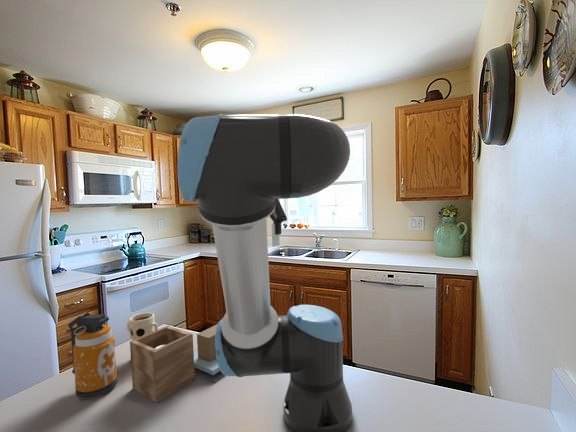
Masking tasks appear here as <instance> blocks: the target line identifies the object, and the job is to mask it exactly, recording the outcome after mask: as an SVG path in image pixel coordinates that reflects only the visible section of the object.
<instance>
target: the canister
mask: <svg viewBox="0 0 576 432" xmlns="http://www.w3.org/2000/svg"><path fill="white" fill-rule="evenodd" d="M109 320H110V317H109V316H106V314H103V313H102V314H92V313H90V312H86V313H84V314H83V315H82V316H81V315H79V316H78V317H77V316H76V318H75V319H73V320H72V321H71V322H69V323H68V324H67V326H68V329H69V332H70V338H71V340H70V341H71V352H72V353H71V354H72V366H73V367H72V368H73V369H72V371H71V373H72V374H73V375H74V383H75V385H74V386H75V396H76V397H77V398H78V399H82V400H83V399H84V400H86V399H87V400H89V399H92V398H97V397H99V396H102V395H105V394H106V393H108V392H110V391H111V390H112V389H114V388H115V387H116V385H117V384H118V376H117V375H118V373H117V356H116V340H115V336H114V335H113V331H112V330H113V329H112V328H111V326H110V325H108V324H105V323H106V322H108V321H109ZM75 325H76V327H74V326H75Z"/></svg>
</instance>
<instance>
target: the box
mask: <svg viewBox="0 0 576 432" xmlns="http://www.w3.org/2000/svg"><path fill="white" fill-rule="evenodd" d="M161 345H164V346H162V347H160V348H158V349H155V348H156V347H158V346H161ZM129 347H130V349H129V350H130V352H129V353H130V365H131V383H132V384H131V385H132V389H133V390H135V391H137V392H139V394H141V395H143V396H144V397H146V398H148V399H150V400H151V401H153V402H155V403H157V404H159V403H161V402H162V401H163V400H165V399H166V398H168V397H169V396H171V395H172V394H175V393H176V392H177V391H179V390H180V389H182V388H183V387H186V386H187V385H188V384H189V383H192V382H194V380H196V377H195V376H196V375H195V373H194V351H195V350H194V335H193V333H190V332H187V331H185V330H181V329H178V328H177V327H176V328H175V327H173V326H170V325H166V326H163V327H161V328H158V330H156V331H154V332H152V333H149V334H147V335H144V336H142V337H139V338H137V339H135V340H132V339H131V340H130V341H129Z"/></svg>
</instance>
